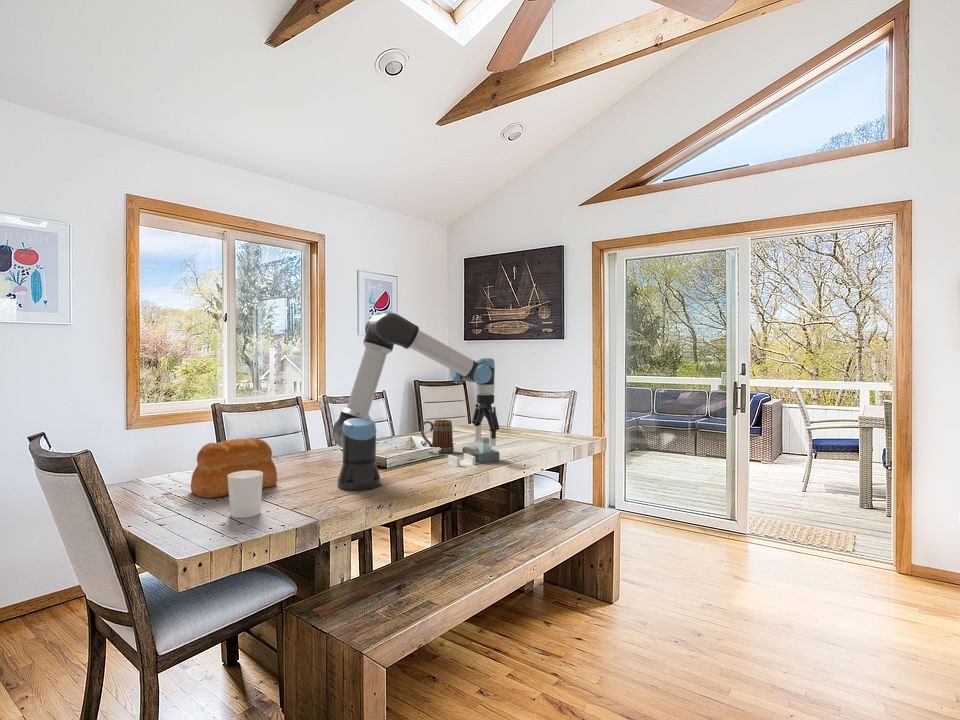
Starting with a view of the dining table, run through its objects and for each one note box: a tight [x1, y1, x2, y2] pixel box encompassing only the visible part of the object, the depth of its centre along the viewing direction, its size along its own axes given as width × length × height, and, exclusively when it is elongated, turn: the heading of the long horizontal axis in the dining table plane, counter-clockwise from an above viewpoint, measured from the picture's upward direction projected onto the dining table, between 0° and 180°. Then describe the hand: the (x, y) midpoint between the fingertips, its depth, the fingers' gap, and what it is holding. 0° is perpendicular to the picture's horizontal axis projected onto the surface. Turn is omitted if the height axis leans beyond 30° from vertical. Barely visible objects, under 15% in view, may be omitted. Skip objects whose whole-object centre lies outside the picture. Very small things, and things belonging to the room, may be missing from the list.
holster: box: [447, 453, 476, 467], centre depth 229 cm, size 9×9×4 cm
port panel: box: [461, 445, 500, 465], centre depth 238 cm, size 10×16×5 cm, turn 27°
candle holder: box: [227, 470, 263, 519], centre depth 162 cm, size 10×10×12 cm
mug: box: [420, 419, 455, 456], centre depth 255 cm, size 16×11×15 cm
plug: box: [478, 436, 492, 453], centre depth 234 cm, size 4×4×11 cm
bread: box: [190, 437, 278, 499], centre depth 190 cm, size 16×26×17 cm, turn 139°
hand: (484, 443), depth 234 cm, fingers open, 13 cm apart
